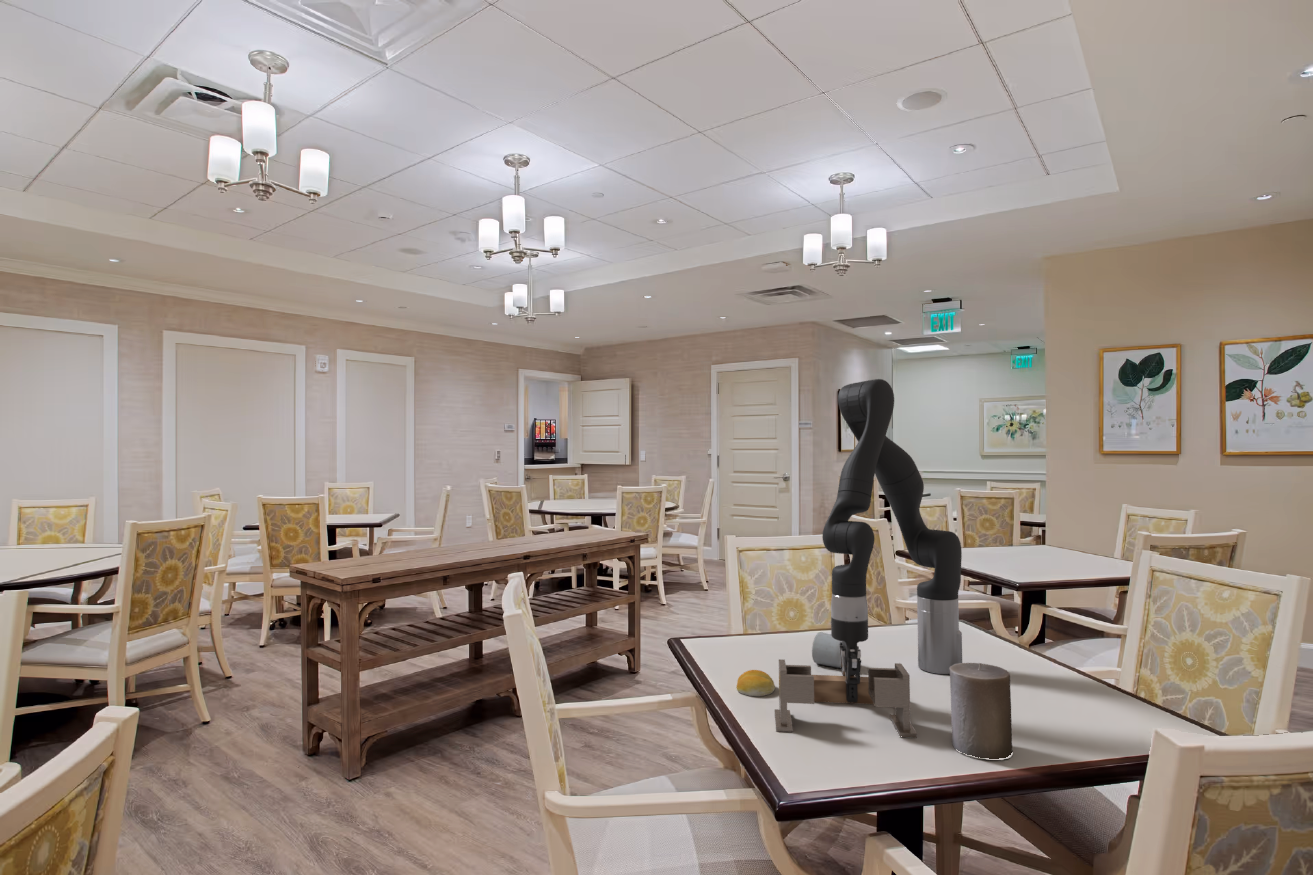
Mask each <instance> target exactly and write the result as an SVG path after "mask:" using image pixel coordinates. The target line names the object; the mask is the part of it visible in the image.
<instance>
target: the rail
mask: <svg viewBox="0 0 1313 875" xmlns="http://www.w3.org/2000/svg"><path fill="white" fill-rule="evenodd" d="M812 675H813V676H814V703H832V702H833V703H835V704H837V703H838V704H858V705H859V704H860V705H874V703H873V701H872V699H871V697H870V695H869V686H868V676H860V684H857V688H858V701H857V702H856V703H855V702H848V701H847V700H846V682H845V680H846V677H845V676H843V675H833V674H832V675H830V674H829V675H827V674H812ZM850 677H852V678H855V676H850Z"/></svg>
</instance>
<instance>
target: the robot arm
mask: <svg viewBox="0 0 1313 875" xmlns="http://www.w3.org/2000/svg"><path fill="white" fill-rule="evenodd" d="M837 402H838V408H839V410H840V414H841V415H842V418H843V419H844V421H845V423H846V425H847V426H848V428H849V429H850V431H851V433H852V434H853V436H854V437H855V439H856V441H857V443H856V445H855V447H854V448H853V450H852V451H851V453H850V454H849V456H848V457H847V459H846V461H845V462H844V464H843V467H842V470H841V472H840V477H839V482H838V488H837V495H836V499H835V502H834V504H833V507H832V509H831V511H830V513H829V516H828V518H827V520H826V522H825V524H824V527H823V530H822V535H821V537H822V543H823V546H824V547H825V549H826V550H827V551H828V552H830V553H832V554H839V555H841V554H843V555H852V557H851V560H850V562H849V564H848V563H846V564H845V563H844V564H839V565H836V566H834V567H833V568H832V570H831V599H830V600H831V601H830V632H831V633H830V634H831V636H832V637H833V638H834V639H836V640H839V641H842V642H840V644H839V652H840V664H841V668H840V670H841V671H842V672H841V675H842V676H845V677H846V680H845V682H846V700H847V701H848V702H855V703H854V704H856V702H857V701H858V688H857V684H860V677H861V668H862V667H861V664H862V659H861V658H862V651H861V649H860V648H859V645H858V643H861V642H865V641H867V640H868V639H869V606H868V604H869V603H868V599H867V574H868V573H867V572H868V568H869V564H870V560H871V556H872V552H873V550H874V544H875V540H876V538H875V532H874V530H873V528H872V526H871V525H870V524H869V523H867V522H865V521H858V520H857V521H854V520H850V519H851V518H852V516H854V515H857V514H862V513H865V512H867V511H868V510H870V507H871V500H872V494H873V487H874V482H875V480H874V479H875V477H876V479H877V481H878V483H879V486H880V487H881V489H882V490H881V491H882V492H883V494H884V495H885V498H886V500H887V502H888V503H889V506H890V507H891V510H892V513H893V515H894V517H895V519H896V522H897V524H898V527H899V531H901V536H902V538H903V541H904V544H905V547H906V549H907V552H908V554H909V556H910V558H911V560H912V561H913V562H914V563H915V564H916V565H918V566H920V567H925V568H932V569H934V572H933V573H934V574H933V578H931V579H929V580H925V581H921V582H919V583H918V584H917V586H916V599H917V600H916V604H917V605H916V607H917V609H916V610H917V616H916V617H917V662H918V663H917V664H918V665H917V666H918V668H919V669H920V670H922V671H924V672H929V673H931V674H939V675H940V674H941V675H950V669H949V668H950V666H953V665H954V664H959V663H963V633H962V631H961V630H960V625H959V624H960V623H959V622H960V621H959V619H960V616H959V614H960V613H959V612H960V611H959V592H960V587H961V583H962V581H961V580H962V558H963V554H962V543H961V541H960V538H959V536H958V535H957V534H956V533H955V532H953V531H949V530H941V529H940V530H939V529H931V528H928V527H927V524H926V523H925V522H924V520H923V517H922V514H921V512H920V509H921V508H920V507H921V503H922V500H923V495H924V490H925V489H924V488H925V487H924V486H925V484H924V481H923V478H922V475H921V473H920V471H919V469H918V467H917V464H916V462H915V461H914V459H913V457H911V455H910V454H909V453H908V452H907V451H905V450H904V449H903V448H902V447H901V446H899V445H898V444H897V443H895V442H894V441H893V440H892V439H890V438H889V437H888V436H886V435H887V433H888V429H889V426H890V422H891V420H892V416H893V412H894V407H895V394H894V390H893V388H892V386H891V385H890V383H889V382H888V381H887V380H884V379H881V378H875V379H869V380H863V381H858V382H853V383H848V384H846V385H844V386H842V387H841V388H840V390H839V392H838V396H837ZM850 676H855V678H852V677H850Z"/></svg>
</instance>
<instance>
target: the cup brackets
mask: <svg viewBox="0 0 1313 875" xmlns="http://www.w3.org/2000/svg"><path fill="white" fill-rule="evenodd" d="M867 668H868V669H867V673H868V674H867V677H868V686H869V695H870V697H871V699H872V701H873V703H874V704H873V705H874V707H877V708H878V707H879V708H895V714H892V713H891V714H889V719H891V720H890V722H891V721H892V722H891V724H892V725H893V727H894V729H895V731H896V730H897V731H896V733H897V732H898V733H897V735H898V734H899V735H898V736H900V737H899V738H905V737H913V739H917V738H918V732H917V731H916V729H915V728H914V726H913V724H912V723H911V691H910V690H911V686H910V685H911V684H910V682H911V680H910V673H908V671H907V669H906V668H905V667H904V666H903V664H902V663H900V662H899V663H896V662H895V663H894V668H890V667H889V668H887V667H867ZM813 675H814V674H812V666H811V665H802V664H800V665H799V664H786V659H779V658H778V706H779V707H778V709H774V719H775V720H774V722H775V732H779V733H780V732H782V733H794V731H793V730H794V729H793V722H792V715H791V710H790V709H788V704H805V705H806V704H807V705H815V702H814V676H813ZM901 736H902V737H901Z"/></svg>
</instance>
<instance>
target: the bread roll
mask: <svg viewBox="0 0 1313 875" xmlns="http://www.w3.org/2000/svg"><path fill="white" fill-rule="evenodd" d="M775 687H776V685H775V682H774V680H773V678H772V677H771V676H770V674H768V673H767V672H765V671H762V670H759V669H749V670H747V671H745V672H743V673H742V674H741V675H739V676H738V678H737V680H736V688H735V689H736V691H737V692H738V693H740V694H741V695H745V696H749V697H764V696H768V695H771V694H773V692H774V691H775Z"/></svg>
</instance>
